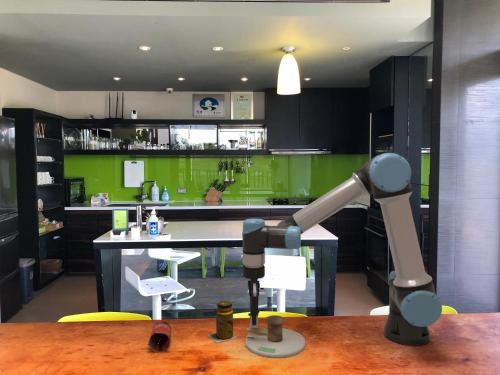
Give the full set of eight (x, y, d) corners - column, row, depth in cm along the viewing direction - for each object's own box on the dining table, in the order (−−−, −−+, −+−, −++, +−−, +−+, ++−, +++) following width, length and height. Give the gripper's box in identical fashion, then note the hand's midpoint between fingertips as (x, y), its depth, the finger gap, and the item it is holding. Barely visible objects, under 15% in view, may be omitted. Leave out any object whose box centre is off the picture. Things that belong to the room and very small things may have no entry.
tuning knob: (283, 335, 136) (283, 315, 135) (284, 342, 130) (284, 322, 129) (247, 335, 136) (247, 315, 136) (246, 342, 130) (246, 321, 130)
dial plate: (305, 333, 141) (305, 329, 141) (304, 360, 121) (304, 354, 121) (250, 330, 144) (250, 325, 144) (240, 355, 125) (240, 350, 125)
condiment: (238, 337, 138) (237, 304, 138) (216, 343, 134) (216, 308, 133) (227, 330, 144) (227, 298, 144) (206, 336, 140) (206, 302, 139)
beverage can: (172, 336, 139) (172, 318, 139) (170, 352, 127) (170, 332, 127) (151, 338, 138) (151, 319, 138) (147, 353, 126) (147, 333, 126)
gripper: (242, 260, 138) (242, 325, 140) (243, 270, 126) (243, 341, 127) (263, 260, 139) (263, 324, 140) (266, 270, 126) (266, 341, 128)
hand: (253, 333), depth 134 cm, fingers closed
